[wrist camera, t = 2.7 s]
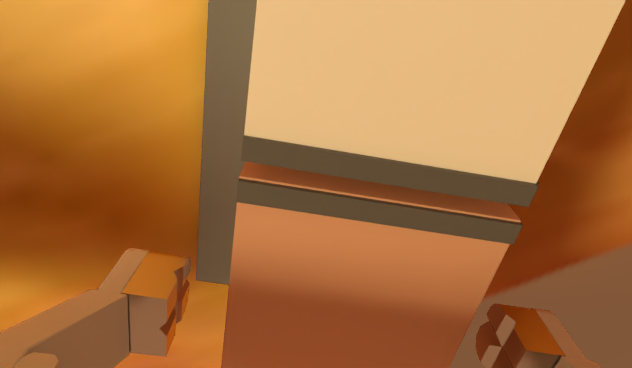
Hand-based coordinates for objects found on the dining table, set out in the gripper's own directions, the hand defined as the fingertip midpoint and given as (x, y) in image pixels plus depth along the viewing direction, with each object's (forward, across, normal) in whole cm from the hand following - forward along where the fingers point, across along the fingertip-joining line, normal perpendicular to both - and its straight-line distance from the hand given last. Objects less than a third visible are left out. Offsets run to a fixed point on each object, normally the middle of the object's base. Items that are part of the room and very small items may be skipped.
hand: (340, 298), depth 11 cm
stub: (+4, 0, -1) cm, 4 cm away
